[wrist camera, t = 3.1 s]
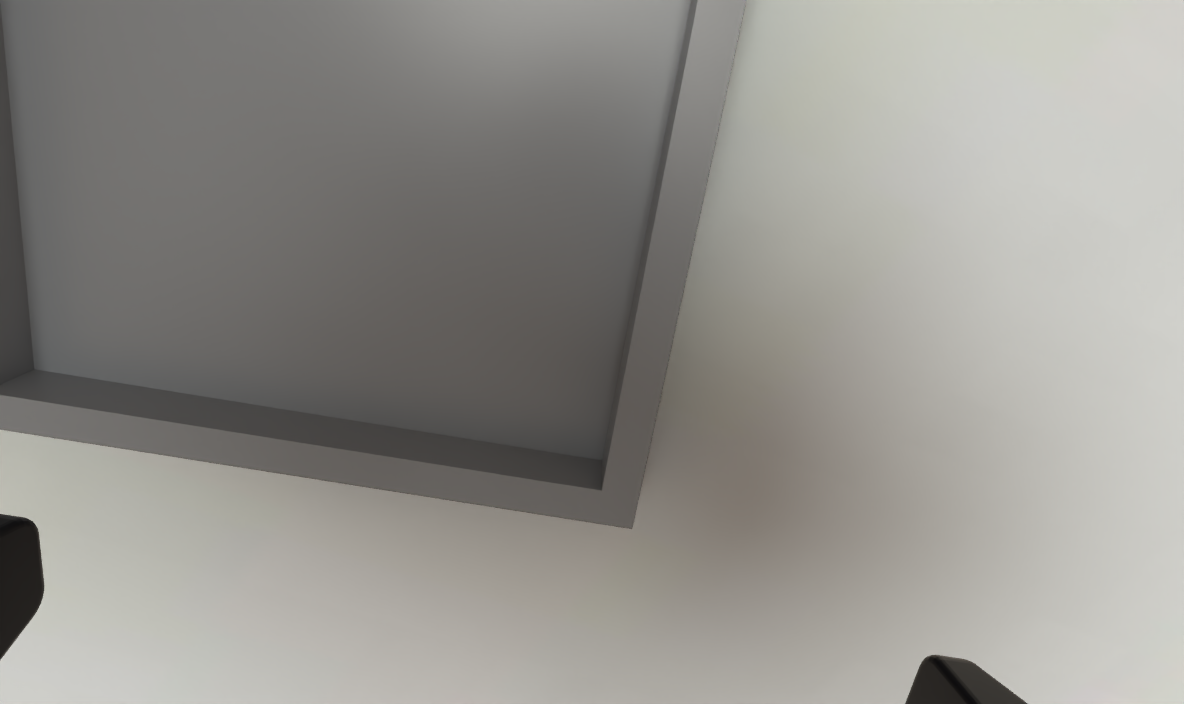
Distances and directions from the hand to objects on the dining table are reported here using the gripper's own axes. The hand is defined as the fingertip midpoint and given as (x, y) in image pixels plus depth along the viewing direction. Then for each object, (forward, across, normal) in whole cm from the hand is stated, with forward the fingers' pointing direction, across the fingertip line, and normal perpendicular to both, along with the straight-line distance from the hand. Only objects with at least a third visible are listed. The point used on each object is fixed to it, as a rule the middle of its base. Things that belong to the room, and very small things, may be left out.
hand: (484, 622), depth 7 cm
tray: (+13, +6, -4) cm, 15 cm away
